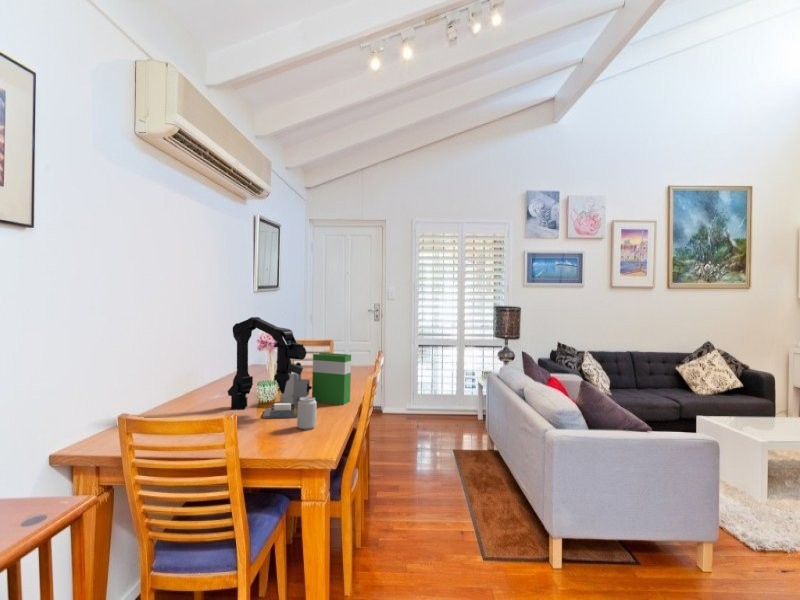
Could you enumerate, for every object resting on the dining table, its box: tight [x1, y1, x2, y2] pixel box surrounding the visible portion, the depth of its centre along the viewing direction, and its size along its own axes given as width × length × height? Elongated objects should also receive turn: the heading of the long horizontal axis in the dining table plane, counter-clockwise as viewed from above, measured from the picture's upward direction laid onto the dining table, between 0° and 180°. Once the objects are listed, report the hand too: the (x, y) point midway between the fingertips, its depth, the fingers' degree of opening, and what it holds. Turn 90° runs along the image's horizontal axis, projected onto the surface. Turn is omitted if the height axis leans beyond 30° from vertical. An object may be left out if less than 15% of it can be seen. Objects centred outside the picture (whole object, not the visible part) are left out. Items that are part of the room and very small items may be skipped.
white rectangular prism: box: [273, 402, 291, 410], centre depth 198 cm, size 7×3×4 cm, turn 99°
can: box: [296, 396, 318, 431], centre depth 181 cm, size 8×8×12 cm
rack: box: [262, 403, 298, 419], centre depth 201 cm, size 16×13×3 cm
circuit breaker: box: [279, 372, 312, 406], centre depth 223 cm, size 8×14×15 cm, turn 89°
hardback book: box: [311, 352, 352, 406], centre depth 228 cm, size 18×7×24 cm, turn 72°
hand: (282, 393), depth 198 cm, fingers closed
